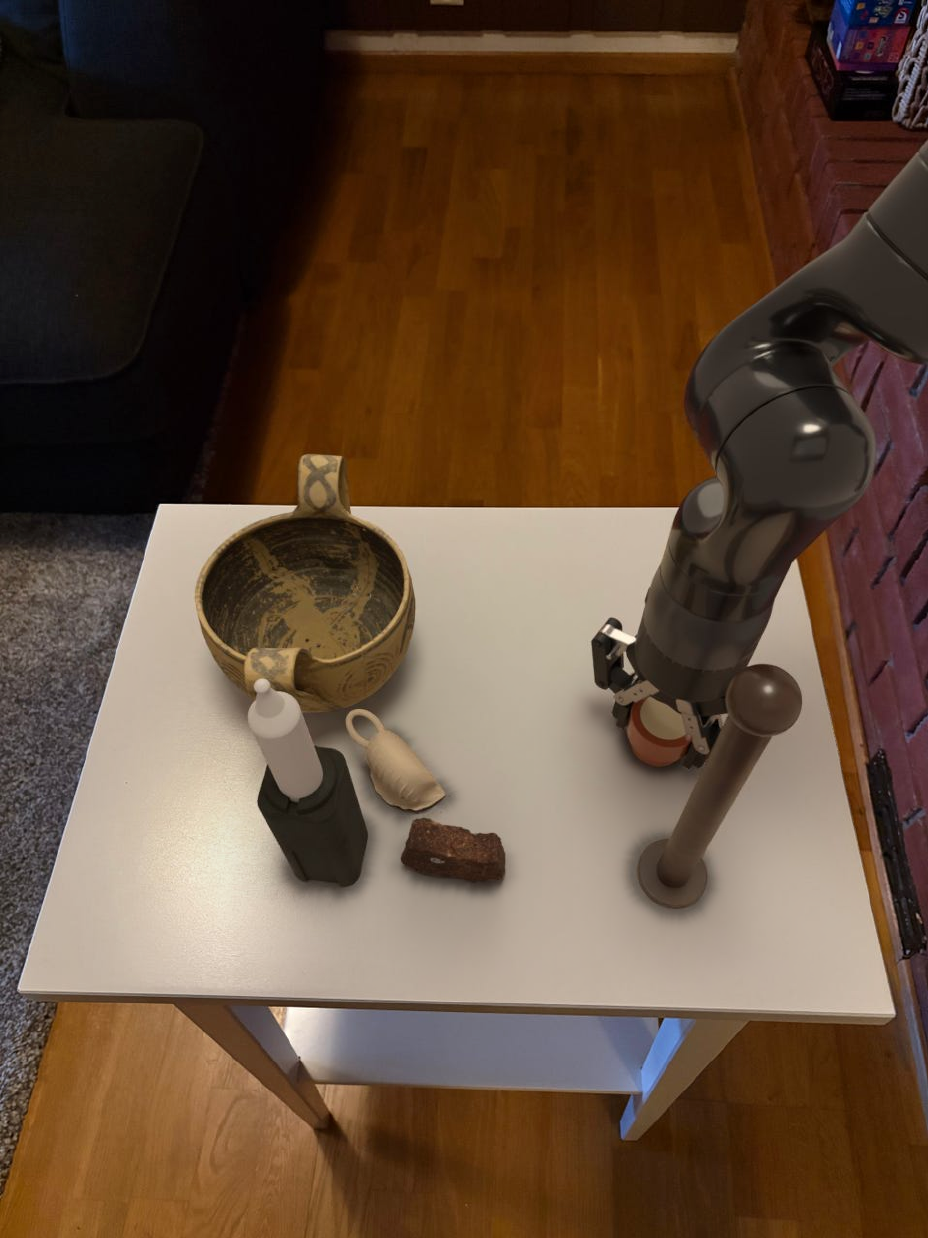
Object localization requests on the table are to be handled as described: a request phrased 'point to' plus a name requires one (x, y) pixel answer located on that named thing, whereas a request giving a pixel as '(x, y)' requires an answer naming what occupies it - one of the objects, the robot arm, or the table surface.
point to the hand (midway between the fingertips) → (657, 738)
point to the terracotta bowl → (657, 733)
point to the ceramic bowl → (309, 598)
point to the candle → (306, 793)
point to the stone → (453, 852)
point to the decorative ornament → (396, 767)
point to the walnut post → (720, 782)
